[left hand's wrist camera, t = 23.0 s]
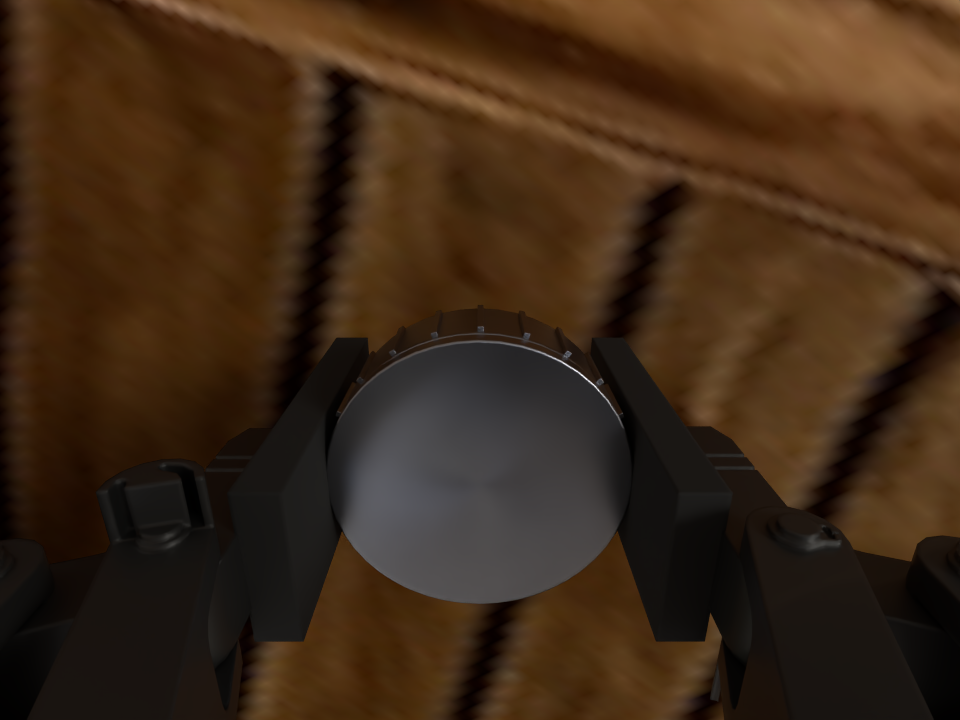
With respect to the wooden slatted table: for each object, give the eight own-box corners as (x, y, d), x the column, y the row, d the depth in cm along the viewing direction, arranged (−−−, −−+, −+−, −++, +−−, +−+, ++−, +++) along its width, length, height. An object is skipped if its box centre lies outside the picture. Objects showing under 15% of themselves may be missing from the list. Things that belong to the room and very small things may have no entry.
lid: (620, 527, 13) (644, 590, 11) (374, 555, 13) (358, 620, 11) (606, 286, 11) (632, 315, 9) (315, 325, 11) (284, 360, 9)
